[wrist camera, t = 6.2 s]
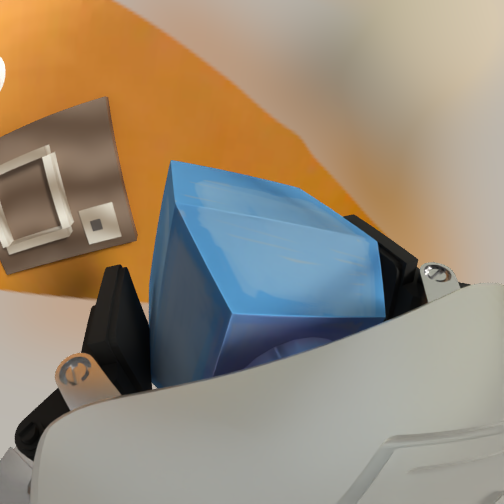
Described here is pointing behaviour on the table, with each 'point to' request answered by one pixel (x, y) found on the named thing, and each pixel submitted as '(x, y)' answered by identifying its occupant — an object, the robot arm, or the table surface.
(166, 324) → the perfume bottle
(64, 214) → the board
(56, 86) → the table surface
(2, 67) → the champagne flute
